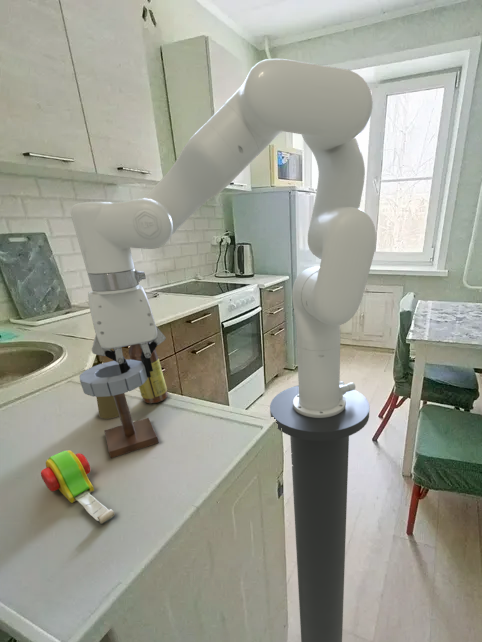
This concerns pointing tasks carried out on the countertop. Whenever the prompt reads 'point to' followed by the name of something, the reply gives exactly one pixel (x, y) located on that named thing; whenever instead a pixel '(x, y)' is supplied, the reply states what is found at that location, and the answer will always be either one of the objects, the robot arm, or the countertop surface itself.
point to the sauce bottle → (155, 385)
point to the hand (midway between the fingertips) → (138, 376)
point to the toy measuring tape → (74, 482)
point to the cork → (107, 407)
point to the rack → (129, 431)
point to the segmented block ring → (112, 378)
